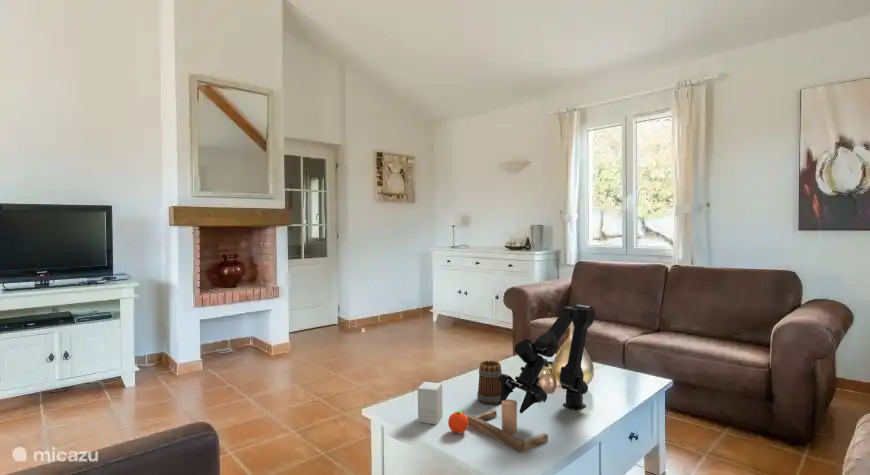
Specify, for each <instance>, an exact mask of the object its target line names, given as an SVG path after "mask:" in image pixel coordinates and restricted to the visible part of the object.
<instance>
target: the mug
mask: <svg viewBox="0 0 870 475" xmlns="http://www.w3.org/2000/svg"><path fill="white" fill-rule="evenodd" d="M501 367H502V365H501V363H500V362H499V361H498V362H497V361H496V360H495V358H491V357H490V358H489V360H485V361H484V360H483V361H481V362H480V364H479V368H478V387H477V388H478V391H477V400H478V401H479V402H480V403H481V404H484V405H487V406H488V405H491V406H493V405H499V404H500V397H501V383H500V380H499V377H500V375H501V374H503V373H502V372H503V370H502V368H501Z"/></svg>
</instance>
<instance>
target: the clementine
mask: <svg viewBox="0 0 870 475" xmlns="http://www.w3.org/2000/svg"><path fill="white" fill-rule="evenodd" d="M467 416H468V415H466V413H465V412H464V411H463V410H458V411H455V412H453V413H451V415H449V417H448V428H449V430H451V432H453V433H455V434H463V433H464V432H466V430H467V429H468V426H469V425H468V418H467Z"/></svg>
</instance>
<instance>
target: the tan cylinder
mask: <svg viewBox="0 0 870 475" xmlns="http://www.w3.org/2000/svg"><path fill="white" fill-rule="evenodd" d="M501 430H503V431H505V432H507V433H509V434H511V435H515V434H517V432H518V402H517V400H514V399H506V400H503V401H502V405H501Z"/></svg>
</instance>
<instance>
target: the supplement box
mask: <svg viewBox="0 0 870 475" xmlns="http://www.w3.org/2000/svg"><path fill="white" fill-rule="evenodd" d="M443 407H444V406H443V383H440V382H429V381H423V382H422V384H420V385H419V386H418V387H417V416H418V417H417V418H418V419H417V421H418V423H421V422H422V423H423V424H429V425H431V424H432V425H438V423H439V422H440V421H441V420H442V418H443V417H444V416H443V415H444V414H443V410H444V409H443Z"/></svg>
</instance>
